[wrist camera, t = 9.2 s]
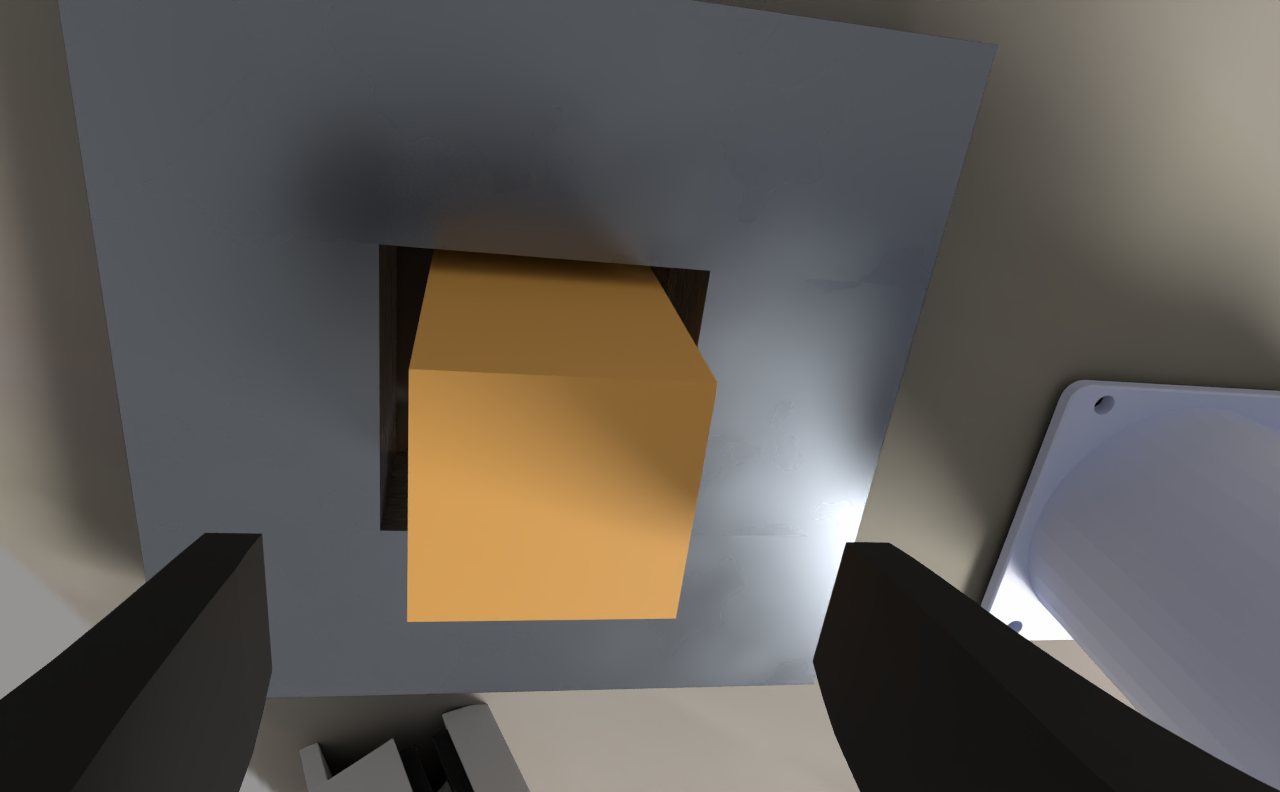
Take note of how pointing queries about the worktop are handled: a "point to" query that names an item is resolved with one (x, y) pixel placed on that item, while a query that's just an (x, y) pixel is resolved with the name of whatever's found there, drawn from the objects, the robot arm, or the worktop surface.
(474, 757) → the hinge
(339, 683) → the grey square-hole board
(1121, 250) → the worktop surface
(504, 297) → the block
